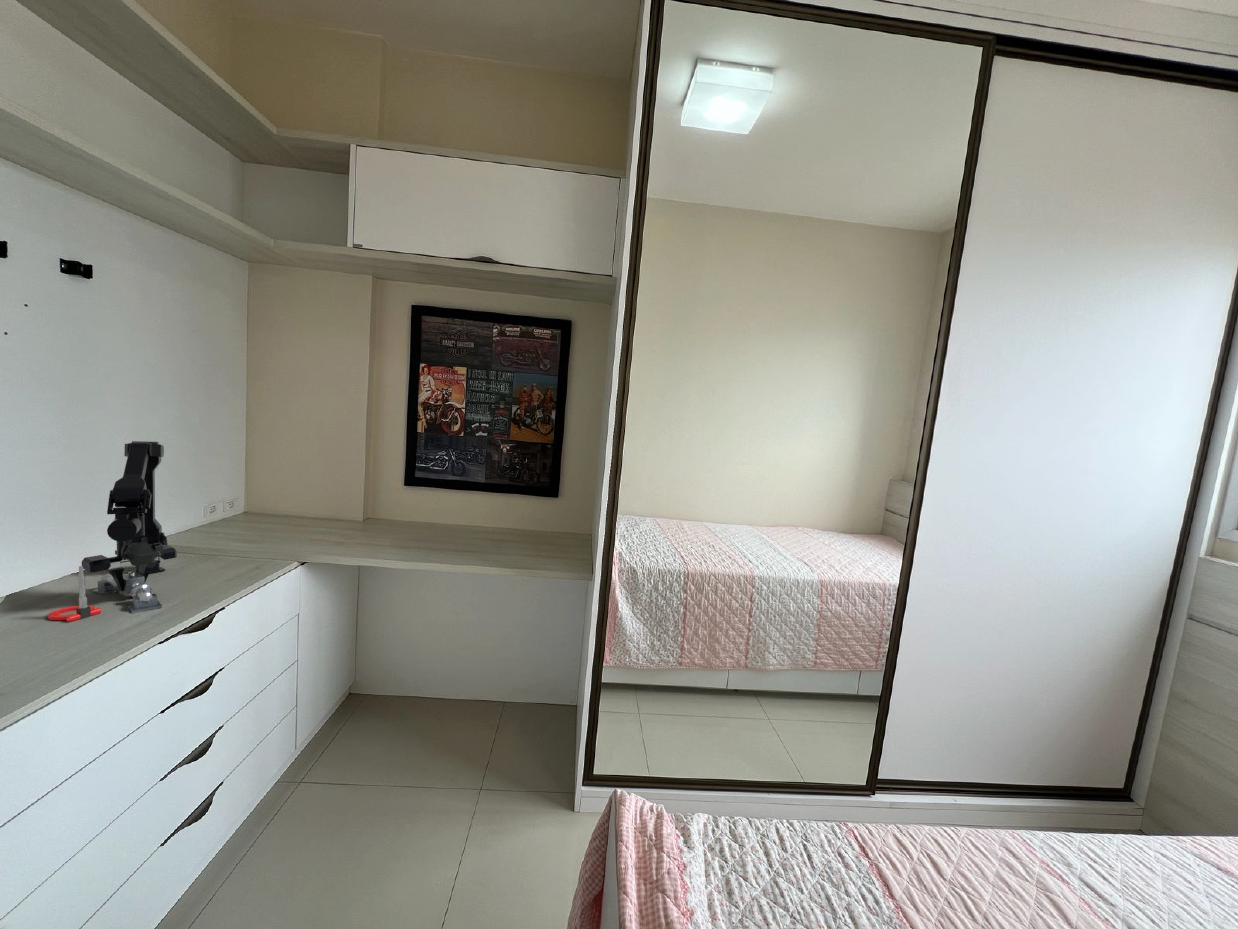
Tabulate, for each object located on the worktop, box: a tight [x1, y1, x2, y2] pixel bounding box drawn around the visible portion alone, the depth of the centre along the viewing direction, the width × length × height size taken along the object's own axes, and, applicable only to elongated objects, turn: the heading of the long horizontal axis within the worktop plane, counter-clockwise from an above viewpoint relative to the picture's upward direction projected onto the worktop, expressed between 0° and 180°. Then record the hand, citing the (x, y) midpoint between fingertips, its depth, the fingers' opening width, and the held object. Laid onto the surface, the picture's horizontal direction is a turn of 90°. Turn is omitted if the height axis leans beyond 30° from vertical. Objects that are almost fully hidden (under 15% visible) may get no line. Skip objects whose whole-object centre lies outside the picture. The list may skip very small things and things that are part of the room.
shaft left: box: [91, 573, 126, 596], centre depth 157 cm, size 7×6×5 cm
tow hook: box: [47, 565, 102, 623], centre depth 141 cm, size 8×13×9 cm
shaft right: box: [128, 583, 163, 614], centre depth 149 cm, size 7×6×5 cm
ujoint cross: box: [118, 571, 146, 597], centre depth 153 cm, size 6×4×6 cm, turn 61°
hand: (131, 588), depth 154 cm, fingers closed on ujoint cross, 4 cm apart
